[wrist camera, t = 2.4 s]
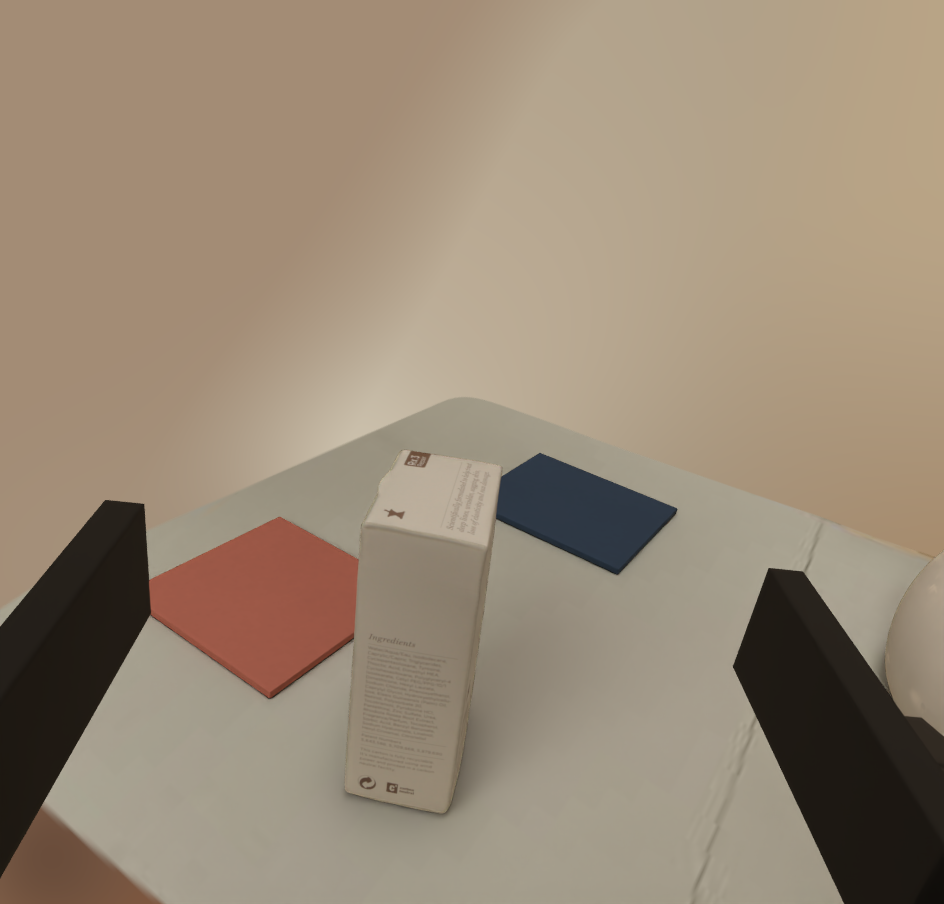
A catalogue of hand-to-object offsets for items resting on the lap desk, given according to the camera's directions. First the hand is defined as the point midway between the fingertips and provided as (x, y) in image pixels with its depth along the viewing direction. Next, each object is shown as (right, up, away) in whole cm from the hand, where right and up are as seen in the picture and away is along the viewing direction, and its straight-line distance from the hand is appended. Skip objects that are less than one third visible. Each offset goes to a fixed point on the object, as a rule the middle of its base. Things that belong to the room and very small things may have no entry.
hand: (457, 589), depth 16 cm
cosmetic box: (-2, -9, +15) cm, 18 cm away
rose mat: (-10, -4, +23) cm, 25 cm away
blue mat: (+7, -1, +35) cm, 36 cm away
